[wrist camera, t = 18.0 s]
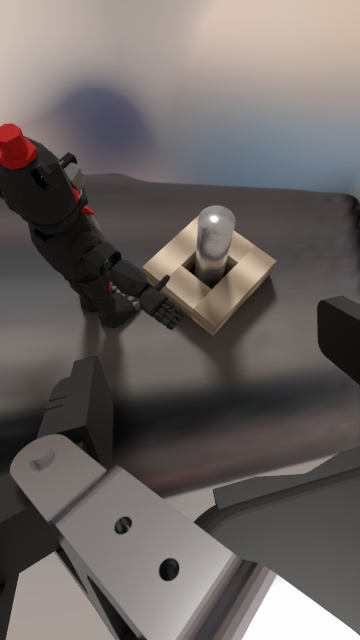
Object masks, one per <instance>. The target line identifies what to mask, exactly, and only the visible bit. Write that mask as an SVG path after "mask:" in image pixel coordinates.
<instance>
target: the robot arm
mask: <svg viewBox="0 0 360 640" xmlns="http://www.w3.org/2000/svg"><path fill="white" fill-rule="evenodd" d="M317 324H318V344H319V347H320V350H321V352H322V353H323V354H324V356H325V357H327V358H328V359H329V360H330V361H331V362H333V363H334V364H335V365H336V366H337V367H339V368H340V369H341V370H342V371H344V372H345V373H346V374H347V375H348V376H350V377H351V378H352V379H353V380H354V381H356V382H357V383H358V384H359V385H360V304H358V303H356V302H354V301H352V300H350V299H348V298H346V297H344V296H337V297H333V298H329V299H325V300H321V301H320V302H319V303H318V306H317ZM112 451H113V403H112V398H111V394H110V391H109V388H108V385H107V382H106V379H105V376H104V373H103V370H102V367H101V364H100V361H99V359H98V357H97V356H94V357H90V358H86V359H82V360H77V361H75V362H74V364H73V368H72V372H71V376H70V377H68V378H64V379H61V381H60V382H59V383H58V384H57V385H56V386H55V387H54V389H53V390H52V393H51V396H50V399H49V402H48V405H47V408H46V411H45V414H44V417H43V420H42V424H41V427H40V430H39V433H38V436H37V439H36V440H35V441H33V442H31V443H30V444H28V445H27V446H26V447H24V448H23V449H22V450H21V451H20V452H19V453H18V454H17V455H16V457H15V458H14V460H13V462H12V464H11V467H10V473H8V474H7V475H5V476H3V477H1V478H0V640H6V635H7V630H8V625H9V620H10V615H11V610H12V605H13V600H14V595H15V591H16V586H17V581H18V576H19V573H20V572H22V571H24V570H25V569H27V568H28V567H30V566H31V565H33V564H35V563H36V562H38V561H40V560H41V559H43V558H44V557H46V556H48V555H49V554H51V553H52V552H55V554H56V555H57V557H58V558H59V560H60V561H61V562H62V564H63V565H64V566H65V568H66V569H67V570H68V572H69V573H70V574H71V576H72V577H73V579H74V580H75V582H76V583H77V584H78V586H79V587H80V588H81V590H82V591H83V592H84V594H85V595H86V597H87V598H88V599H89V601H90V602H91V603H92V605H93V606H94V608H95V609H96V611H97V612H98V614H99V616H100V617H101V619H102V620H103V622H104V624H105V625H106V627H107V628H108V630H109V631H110V633H111V634H112V636H113V637H114V639H115V640H360V447H356V448H353V449H349V450H346V451H343V452H340V453H339V454H337V455H335V456H334V457H332V458H330V459H329V460H327V461H326V462H324V463H322V464H321V465H319V466H318V467H316V468H314V469H313V470H311V471H309V472H308V473H305V474H298V475H280V476H262V477H253V478H250V479H247V480H243V481H240V482H236V483H233V484H229V485H226V486H222V487H219V488H216V489H213V493H214V498H215V503H216V505H214V506H213V507H211V508H209V509H208V510H207V511H206V512H204V513H203V514H202V515H201V516H199V517H198V518H197V519H196V520H195V521H194V522H192V521H191V520H189V519H188V518H187V517H185V516H184V515H183V514H181V513H180V512H179V511H177V510H176V509H175V508H174V507H172V506H171V505H170V504H168V503H167V502H166V501H165V500H163V499H162V498H161V497H159V496H158V495H157V494H155V493H154V492H153V491H152V490H150V489H149V488H148V487H146V486H145V485H144V484H142V483H141V482H140V481H139V480H137V479H136V478H135V477H133V476H132V475H131V474H129V473H128V472H127V471H125V470H124V469H123V468H121V467H120V466H118V465H113V466H112Z"/></svg>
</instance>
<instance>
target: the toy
mask: <svg viewBox="0 0 360 640" xmlns="http://www.w3.org/2000/svg"><path fill="white" fill-rule="evenodd" d="M76 164H77V160H76V158H75V156H74V155H72V154H71V153H69V152H68V153H67V154H66V155H65V156H62V155H60V154H56V155H54V154H53V153H51V152H50V151H48V149H47V148H45V147H44V146H43V145H42V144H41V143H38V142H36V141H34V140H32V139H29V138H27V137H25V136H23V134H22V131H21V129H20V128H19V127H17V126H15V125H14V124H4V125H2V126H0V197H1V198H2V199H4V200H5V202H6V204H7V206H8V207H9V209H10V210H12V211H14V212H16V213H17V214H19V215H21V217H22V218H23V219H24V220H25V221H26V222H28V225H29V230H30V234H31V239H32V242H33V243H34V245H35V247H36V248H37V250H38V251H39V252H40V254H41V255H42V256H43V257H44V258H45V260H46V261H47V262H48V263H49V264H50V265H51V266H52V267H53V268H54V269H55V270H57V271H58V272H60V273H61V274H62V275H63V276H64V278H65V279H66V280H67V281H69V283H70V285H71V288H72V289H73V290H75V291H76V292H77V293H78V294H79V295H80V296H79V298H80V303H81V307H82V308H84V309H86V310H87V311H97V310H99V311H100V314H99V318H100V320H101V322H102V323H103V325H106V326H109V327H113V328H115V327H117V326H119V325H121V324H123V323H124V322H126V321H127V320H128V319H129V318H130V317H131V316H132V315H133V314H134V313H135V312H136V311H137V310H138V309H139V308H140V307H141V309H142V310H143V311H145V312H146V313H147V314H149V315H150V316H151V317H154V318H155V319H156V320H157V321H159V322H160V323H162V324H163V325H165V326H167V328H168V329H170V330H173V329H174V327H175V326H176V325H177V324H178V321H179V322H180V321H181V319H182V317H184V316H185V315H186V313H185V312H184V311H183V310H182V308H180V307H179V306H177V305H175V303H174V302H172V301H170V300H168V299H167V296H166V295H164V294H162V293H161V292H159V291H160V290H161V289H162V287H164V286H166V284H167V282H168V281H169V280H170V276H169V275H166V276H164V277H163V279H161V280H160V282H159V283H158V284H156V285H155V286H154V287H153V288H150V287H149V288H148V286H149V283H148V280H147V277H146V274H144V273H143V272H142V271H141V270H140V269H139V268H137V267H136V266H134V265H133V264H131V263H130V262H128V261H127V260H121V253H120V252H119V251H118V250H117V249H116V248H115V247H114V246H113V245H111V244H110V243H109V242H106V239H105V237H104V235H103V233H102V231H101V228H100V226H99V224H98V222H97V221H96V220H95V219H94V218H93V217H92V216H91V215H93V214H95V213H94V212H93V211H92V210H91V209H90V208H88V207H85V206H86V205H87V204H88V200H87V197H86V194H85V191H84V188H82V187H83V186H84V185H85V182H84V177H83V176H84V175H83V174H82V173H81V170H80V169H79V168H78V167H77V166H76ZM41 176H42V177H41ZM106 259H109V261H108V262H107V261H106ZM105 261H106V262H107V263H106V262H105ZM105 263H106V264H105ZM104 264H105V265H104ZM137 299H139V302H135V301H136V300H137ZM166 312H167V313H166ZM181 316H182V317H181ZM174 325H175V326H174Z"/></svg>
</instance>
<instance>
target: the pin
mask: <svg viewBox="0 0 360 640" xmlns="http://www.w3.org/2000/svg"><path fill="white" fill-rule="evenodd" d="M234 226H235V217H234V215H233V213H232V212H231V211H230V210H229V209H227V208H225V207H223V206H210V207H207V208H205V209H204V210H203V211H202V212H201V213H200V215H199V218H198V233H197V249H196V264H195V277H196V278H198V279H199V280H200V281H201V282H203V283H204V284H205V285H206V286H208V287H209V288H210V289H213V288H214V287H215V286H216V285H217V284H218V283H219V282H220V281H221V280H222V279H223V275H224V271H225V266H226V262H227V257H228V253H229V248H230V244H231V240H232V235H233V231H234Z"/></svg>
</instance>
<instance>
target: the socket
mask: <svg viewBox="0 0 360 640" xmlns="http://www.w3.org/2000/svg"><path fill="white" fill-rule="evenodd" d="M198 218H199V216H198V217H197V218H195V219H194V220H193V221H192V222H191V223H190V224H189V225H188V226H187V227H186V228H184V229H183V230H182V231H181V232H180V233H179V234H178V235H177V236H176V237H175V238H174V239H172V240H171V241H170V242H169V243H168V244H167V245H166V246H165V247H164V248H163V249H161V250H160V251H159V252H158V253H157V254H156V255H155V256H154V257H153V258H152V259H151V260H149V261H148V262H147V263H146V264H145V265H144V266H143V271H144V274H146V277H147V280H148V283H150V284H151V285H152V286H153V287H154V286H155V285H156V284H158V283H159V282H160V280H161V279H163V277H164V276H166V275H169V276H170V280H169V281H168V282H167V284H166V286H164V287H162V289H161V290H160V291H159V292H161V293H162V294H164V295H166V296H167V298H168V299H169V300H170V301H172V302H174V303H175V305H177V306H179V307H180V308H182V310H183V311H184V312H185V313H186V314H187V315H188V316H189V317H190V318H191V319H193V320H194V321H195V322H196V323H197V324H199V325H200V326H201V327H202V328H203V329H205V330H206V331H207V332H208V333H209V334H211V335H212V336H213V335H214V334H215V333H216V332H217V331H218V330H219V329H220V328H221V327H222V326H223V325H224V324H225V322H226V321H227V320H228V319H229V318H230V317H231V316H232V315H233V314H234V313H235V312H236V311H237V309H238V308H239V307H240V306H241V305H242V304H243V303H244V302H245V301H246V300H247V299H248V298H249V297H250V295H251V294H252V293H253V292H254V291H255V290H256V289H257V288H258V287H259V286H260V285H261V284H262V282H263V281H264V280H265V279H266V278H267V277H268V276H269V275H270V273H271V271H272V269H273V267H274V265H275V263H276V260H274V259H273V258H271V257H270V256H269V255H267V254H266V253H264V252H263V251H262V250H260V249H259V248H257V247H256V246H255V245H253V244H252V243H250V242H249V241H248V240H246V239H245V238H243V237H242V236H241V235H239V234H238V233H236V232H235V231H233V235H232V240H231V244H230V248H229V253H228V257H227V262H226V266H225V269H226V270H227V271H228V272H229V273H228V274H227V275H226V276H225V277H224V278H223V279H222V280H221V281H220V282H219V283H218V284H217V285H216V286H215V287H214V288H213V289H210V288H209V287H208V286H206V285H205V284H204V283H203V282H201V281H200V280H199V279H198V278H196V277H195V276H194V275H193V274H191V273H190V272H189V270H190V269H191V268H192V267H193V266H194V265H195V264H196V249H197V233H198Z"/></svg>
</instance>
